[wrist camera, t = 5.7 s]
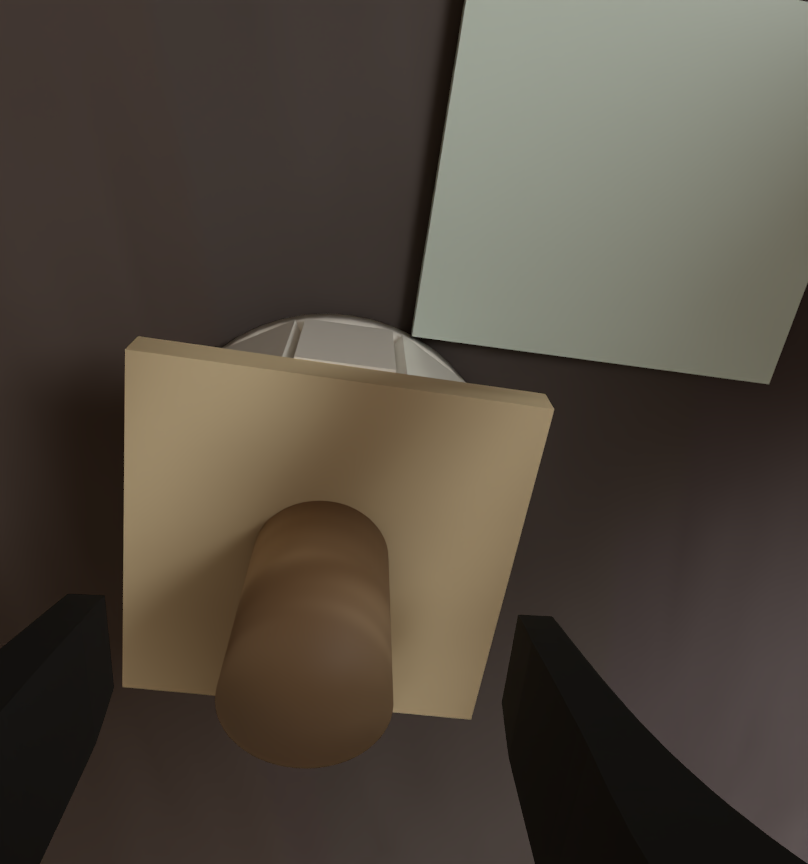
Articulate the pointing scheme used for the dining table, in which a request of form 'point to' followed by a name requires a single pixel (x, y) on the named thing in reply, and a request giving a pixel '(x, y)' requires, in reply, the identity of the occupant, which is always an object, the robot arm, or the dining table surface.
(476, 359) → the dining table surface
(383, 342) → the bowl
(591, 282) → the plate
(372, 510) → the lid
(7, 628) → the dining table surface
